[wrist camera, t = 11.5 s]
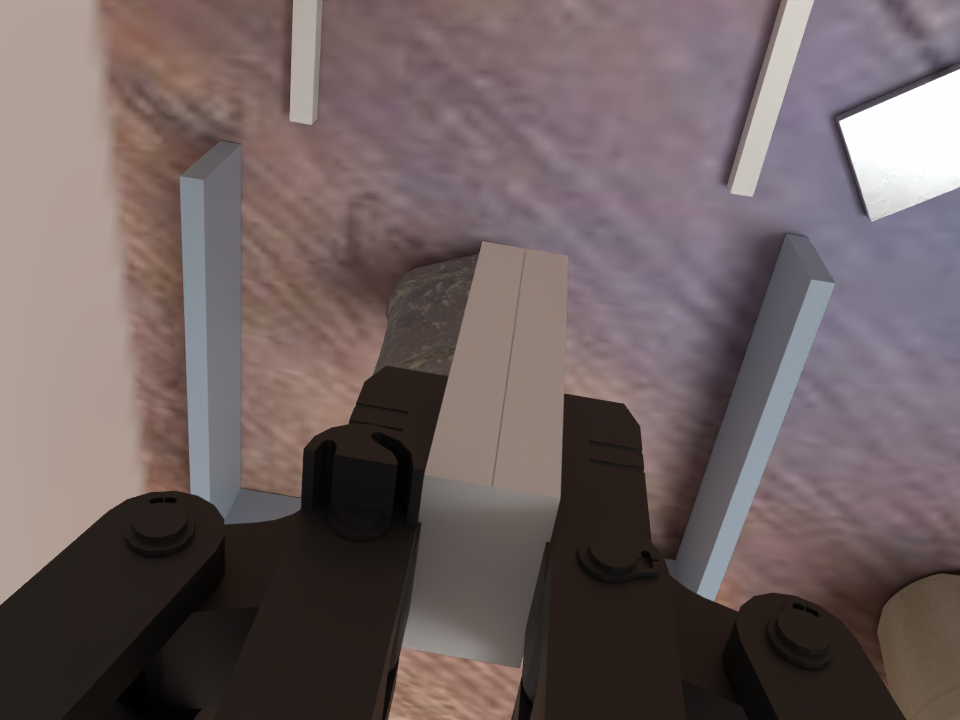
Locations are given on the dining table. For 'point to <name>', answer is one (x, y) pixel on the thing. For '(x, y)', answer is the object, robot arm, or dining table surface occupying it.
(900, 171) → the hand shovel
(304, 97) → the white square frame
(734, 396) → the bin
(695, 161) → the dining table surface
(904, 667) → the flower pot
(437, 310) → the stone
